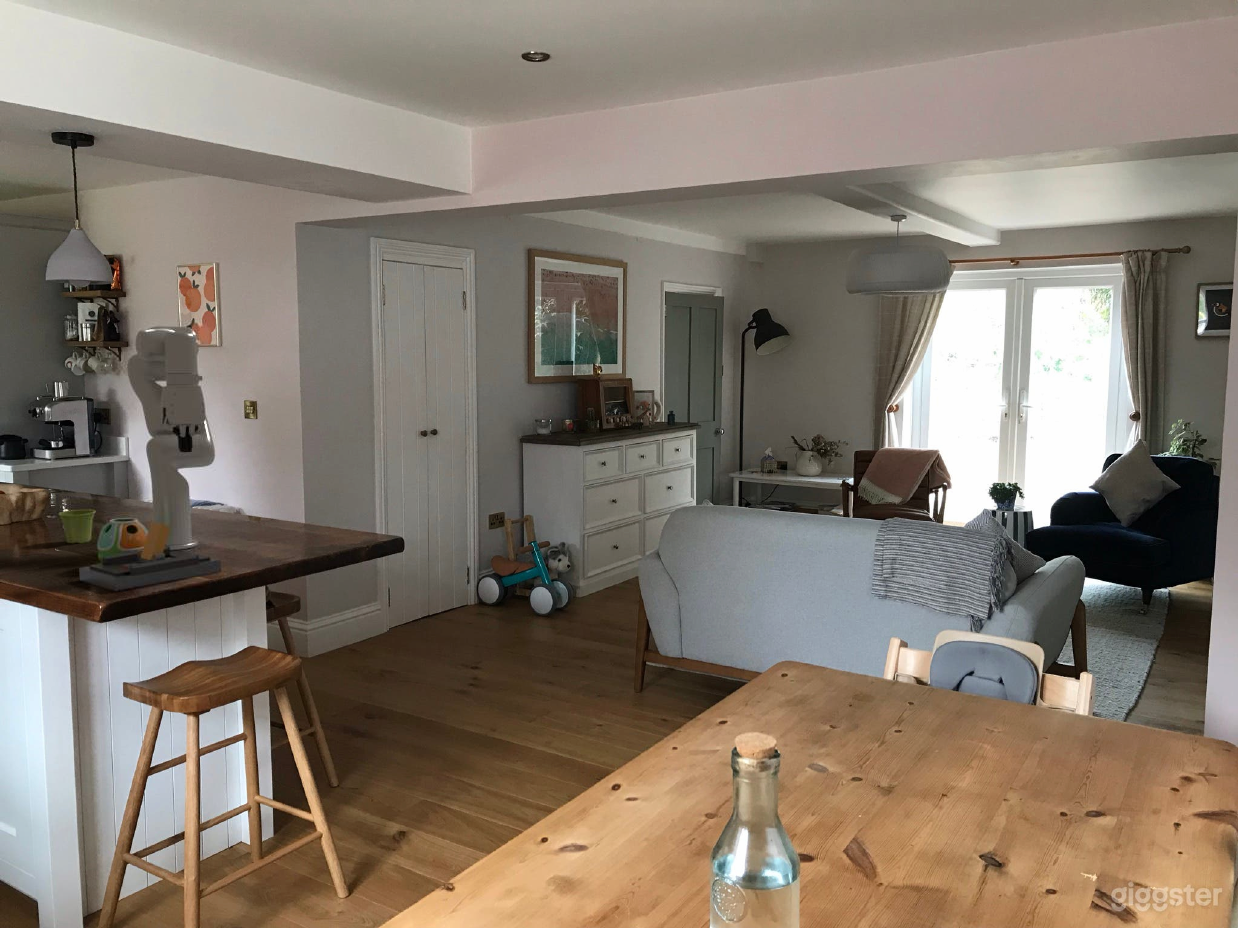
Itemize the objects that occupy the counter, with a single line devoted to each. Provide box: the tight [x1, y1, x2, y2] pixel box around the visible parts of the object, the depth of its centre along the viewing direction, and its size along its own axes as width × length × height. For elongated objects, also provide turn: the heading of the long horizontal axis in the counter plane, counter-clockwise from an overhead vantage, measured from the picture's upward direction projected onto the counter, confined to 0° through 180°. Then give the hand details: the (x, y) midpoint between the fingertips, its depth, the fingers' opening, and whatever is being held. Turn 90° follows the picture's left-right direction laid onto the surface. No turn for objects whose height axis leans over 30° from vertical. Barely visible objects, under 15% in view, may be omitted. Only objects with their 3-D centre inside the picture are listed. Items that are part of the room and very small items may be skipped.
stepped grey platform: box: [102, 546, 200, 576], centre depth 241 cm, size 20×18×2 cm
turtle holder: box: [96, 517, 149, 564], centre depth 255 cm, size 12×18×12 cm
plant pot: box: [58, 509, 96, 544], centre depth 285 cm, size 9×9×9 cm
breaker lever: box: [141, 521, 171, 561], centre depth 242 cm, size 6×2×9 cm, turn 52°
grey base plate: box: [78, 549, 222, 592], centre depth 241 cm, size 18×26×6 cm
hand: (185, 451), depth 254 cm, fingers closed
